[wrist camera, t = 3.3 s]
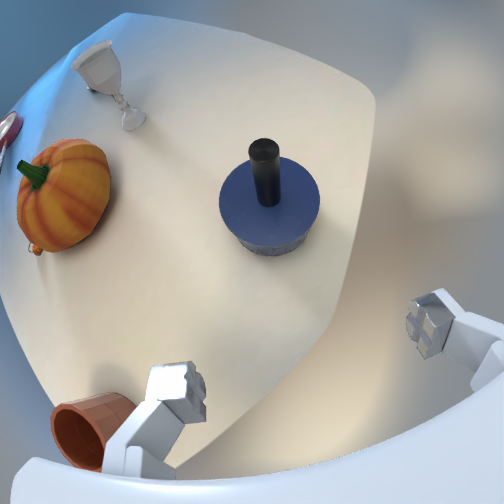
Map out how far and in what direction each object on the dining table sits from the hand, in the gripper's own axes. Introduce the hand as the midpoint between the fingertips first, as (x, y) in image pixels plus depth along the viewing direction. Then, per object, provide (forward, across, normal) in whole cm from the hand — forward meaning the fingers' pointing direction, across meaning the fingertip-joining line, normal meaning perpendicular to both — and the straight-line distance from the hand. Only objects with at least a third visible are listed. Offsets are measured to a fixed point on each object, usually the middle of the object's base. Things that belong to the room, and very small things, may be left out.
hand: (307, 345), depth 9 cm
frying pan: (+59, -61, +23) cm, 88 cm away
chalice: (+47, -18, +12) cm, 52 cm away
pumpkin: (+37, -29, +2) cm, 47 cm away
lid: (+24, +2, -3) cm, 24 cm away
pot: (+11, -26, -24) cm, 37 cm away
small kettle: (+33, -40, -2) cm, 52 cm away
